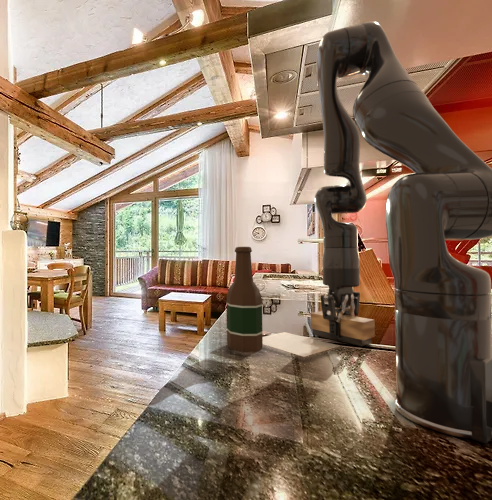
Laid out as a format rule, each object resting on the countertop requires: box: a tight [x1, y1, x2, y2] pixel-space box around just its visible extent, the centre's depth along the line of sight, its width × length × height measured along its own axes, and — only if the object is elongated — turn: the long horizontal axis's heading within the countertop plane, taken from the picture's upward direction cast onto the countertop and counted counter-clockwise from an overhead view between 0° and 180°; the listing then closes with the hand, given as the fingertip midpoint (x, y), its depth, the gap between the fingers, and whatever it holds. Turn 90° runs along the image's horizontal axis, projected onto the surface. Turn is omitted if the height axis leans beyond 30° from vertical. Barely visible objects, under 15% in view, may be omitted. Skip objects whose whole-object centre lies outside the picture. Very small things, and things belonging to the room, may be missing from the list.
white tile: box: [263, 331, 340, 358], centre depth 71 cm, size 14×14×1 cm
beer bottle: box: [226, 246, 264, 353], centre depth 69 cm, size 8×8×24 cm
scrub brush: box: [310, 310, 376, 347], centre depth 73 cm, size 12×5×6 cm, turn 30°
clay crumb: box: [262, 330, 272, 337], centre depth 80 cm, size 4×4×1 cm
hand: (341, 335), depth 73 cm, fingers closed on scrub brush, 5 cm apart
